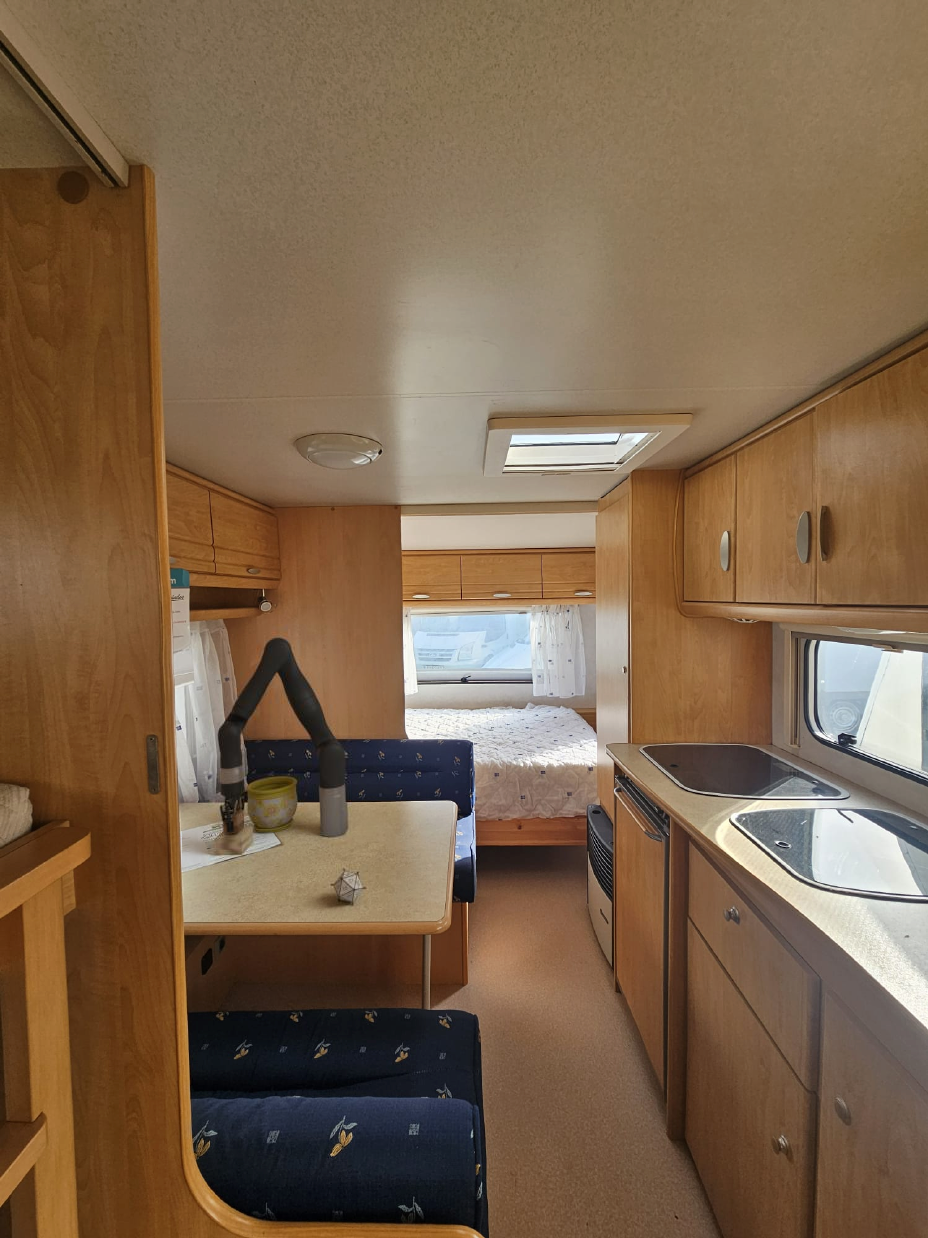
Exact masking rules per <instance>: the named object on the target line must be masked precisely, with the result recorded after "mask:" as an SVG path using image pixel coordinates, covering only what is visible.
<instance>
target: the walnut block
mask: <svg viewBox="0 0 928 1238" xmlns="http://www.w3.org/2000/svg"><path fill="white" fill-rule="evenodd" d="M231 811H233V810H230V812H231ZM230 816H231V814H230ZM233 822H234V831H233V832H227V831H226V822H222V830H223V831H222V832H223V834H231V833H239V832H240V831H241V830H242V829H243V828H244V827H245V809H244V810H240V811H239V810H236V813H235V814H234V819H233Z"/></svg>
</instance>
